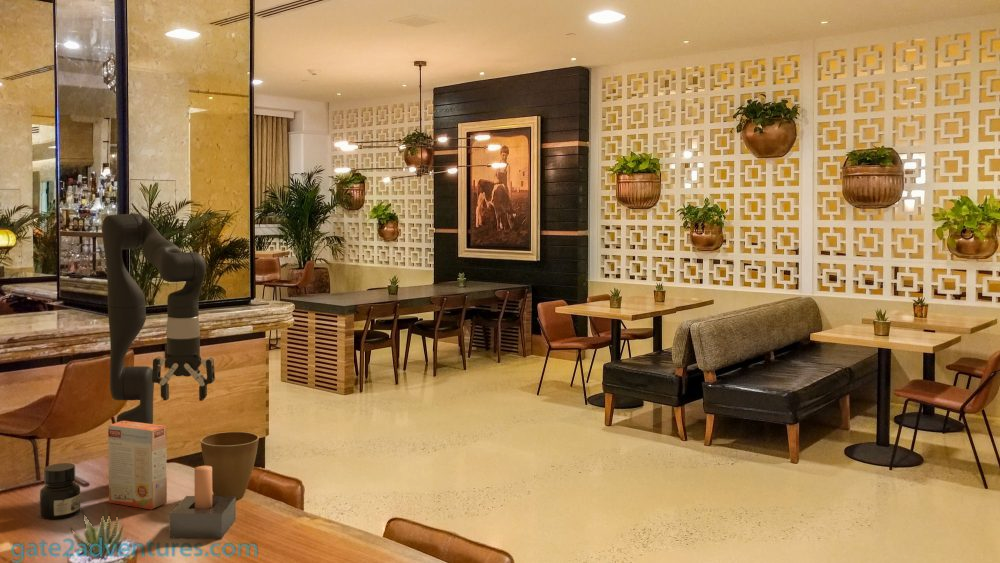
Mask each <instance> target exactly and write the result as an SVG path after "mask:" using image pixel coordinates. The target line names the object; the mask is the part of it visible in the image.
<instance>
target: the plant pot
mask: <svg viewBox="0 0 1000 563" xmlns="http://www.w3.org/2000/svg"><path fill="white" fill-rule="evenodd" d="M259 438H260V436H259V435H258V434H255V433H252V432H247V431H246V432H245V431H225V432H222V431H221V432H216V433H212V434H208V435H205V436H202V438H201V439H200V440H199V441H200V446H201V453H202V455H201V456H202V459H203V460H202V461H203V463H204V464H203V466H211V467H212V495H213V496H236V500H240V499H241V498H243V497H244V495H245V493H246V491H247V488H248V485H249V484H250V480H251V477H252V473H253V470H254V466H255V462H256V458H257V451H258V446H259Z"/></svg>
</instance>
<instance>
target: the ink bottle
mask: <svg viewBox="0 0 1000 563" xmlns="http://www.w3.org/2000/svg"><path fill="white" fill-rule="evenodd" d="M43 473H44V474H43V480H44V486H43V487H42V488H41V489H40V490H39V513H40V514H39V515H40V517H41V518H42V519H45V520H63V519H68V518H71V517H73V516H75V515H77V514H78V513H80V511H81V486H80V485H79V483H77V482H75V480H76V465H75V464H74V463H71V462H70V463H69V462H62V463H61V462H60V463H54V464H50V465H47V466H45V467H44V469H43Z"/></svg>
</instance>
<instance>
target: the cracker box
mask: <svg viewBox="0 0 1000 563" xmlns="http://www.w3.org/2000/svg"><path fill="white" fill-rule="evenodd" d="M107 427H108V428H107V430H108V431H107V432H108V433H107V434H108V435H107V436H108V440H107V441H108V444H107V445H108V447H107V448H108V503H110V504H114V505H121V506H122V505H123V506H128V507H134V508H140V509H146V510H154V509H156V508H158V507H160V506H163V505H165V504H167V499H168V498H167V496H168V494H167V490H168V489H167V488H168V486H167V485H168V484H167V479H168V478H167V474H168V473H167V472H168V471H167V426H166V425H162V424H154V423H153V424H147V423H139V422H131V421H120V422H117V421H116V422H114V423H112V424H108V426H107Z"/></svg>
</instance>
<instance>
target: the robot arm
mask: <svg viewBox="0 0 1000 563" xmlns="http://www.w3.org/2000/svg"><path fill="white" fill-rule="evenodd" d="M101 231H102V232H101V234H102V243H103V252H104V258H105V259H104V260H105V266H106V267H105V268H106V279H107V280H106V281H107V283H106V284H107V314H108V328H109V342H110V345H109V346H110V355H109V356H110V357H109V358H110V360H109V362H110V363H109V365H110V367H109V390H110V395H111V398H112V399H113V400H114V401H139V404H138V405H136V406H135V407H133V408H131V409H129V410H124V411H123V412H121V413H118V414H117V416H116V423H117V422H120V421H131V422H139V423H147V424H154V391H155V384H158V385H159V386H160V397H161V399H163V401H168V400H169V399H170V383H168V382H169V381H170V380H171V378H172V377H173V376H175V377H186V378H187V377H190V376H191V377H192V379H194V380H195V381H196V382H197V383H198V384H199V386H198V400H199V401H200V402H203V401H204V400H205V399H206V398H207V397H208V385H210V384H213V383H214V382H215V380H216V375H215V374H216V373H215V361H214V358H213V357H209V358H202V357H201V341H200V340H201V339H200V338H201V330H200V328H201V327H200V326H201V324H200V319H199V318H200V317H199V313H200V312H199V310H200V309H199V307H200V306H199V299H200V296H201V295H200V294H201V290H202V286H203V283H204V279H205V276H206V271H207V264H206V263H207V262H206V259H205V258H204V256H203V255H202V254H201V253H199V252H197V251H187V252H185V251H184V252H182V249H180V247H178V245H176V244H175V243H173V242H172V241H169V240H168V239H166V238H165V237H164V236H163V235H162V234H161V233H160V232H159V231H158V229H157V228H156V226H155V225H153V224H152V222H151V221H150V220H149V219H148V217H146V216H145V215H143V214H141V213H140V214H139V213H125V214H123V213H121V214H109V215H107V216H105V217H104V218H103V221H102V228H101ZM140 248H142V254H143V257H144V259H145V260H147V262H149V263H150V264H151V265H152V266H154V267H155V268H156V270H157V271H158V274H159V275H160V278H161V279H162V280H163V281H165V282H168V283H182V282H185V284H184V285H183V287H182V288H180V289H179V290H176V291H172V292H170V293H169V294H168V295H167V307H166V308H167V309H166V310H167V311H166V312H167V319H166V320H167V321H166V330H165V334H166V356H165V357H166V358H164V357H162V356H157V357H155V358H154V359H152V367H150V366H145V365H143V366H142V365H141V366H140V365H139V366H138V365H137V366H134V365H133V366H132V365H131V366H125V358H126V356H127V355H126V354H127V352H128V351H129V349H130V347H131V345H132V344H133V342H134V340H136V338H137V336H138V335H139V334H140V332H141V331H142V329H143V328H144V325H145V323H146V321H147V313H146V312H147V310H146V309H147V308H146V307H147V306H146V296H145V294H144V292H143V290H142V288H141V287H140V286H139V285H138V283H137V282H136V281H135V280H134V278H133V277H132V275H131V274H130V273H129V271H128V270H127V268H126V266H125V263H124V260H123V254H122V250H132V249H133V250H134V249H140ZM164 365H165V366H167V368H168V371H167V372H166V373H165V375H164V376H163V377H161V375H162V367H163V366H164ZM201 365H203V367H204V368H205V370H206V377H205V376H204V374H203V372H202V370H201V369H200V366H201Z"/></svg>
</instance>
